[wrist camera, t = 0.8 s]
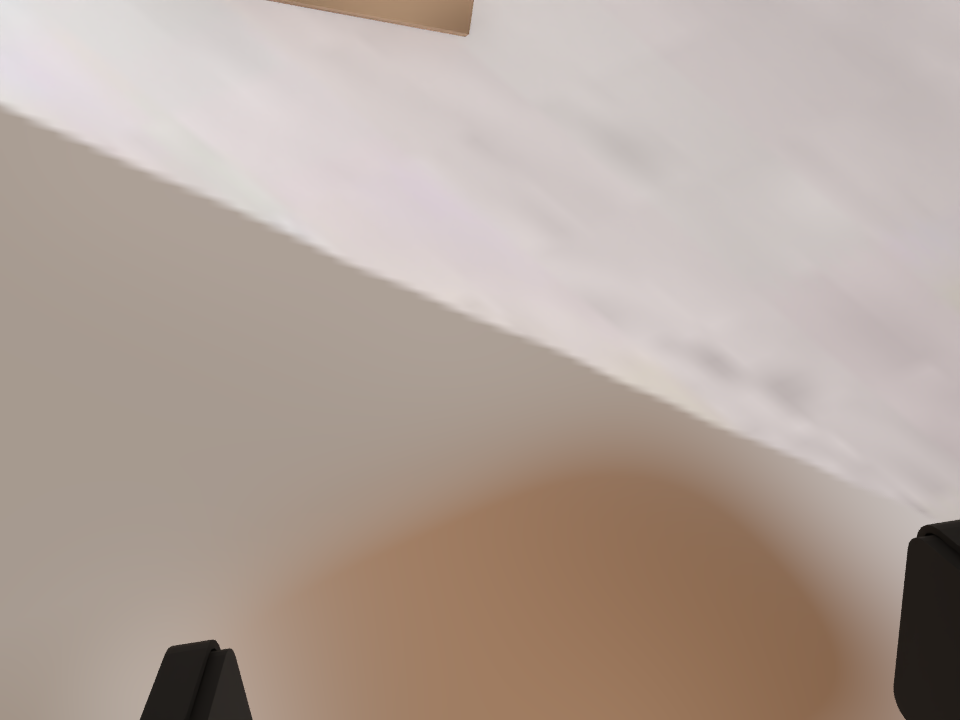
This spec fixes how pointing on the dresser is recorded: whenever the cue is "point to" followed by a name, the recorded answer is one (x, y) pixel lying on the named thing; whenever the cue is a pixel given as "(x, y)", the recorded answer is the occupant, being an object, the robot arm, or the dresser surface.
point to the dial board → (402, 12)
